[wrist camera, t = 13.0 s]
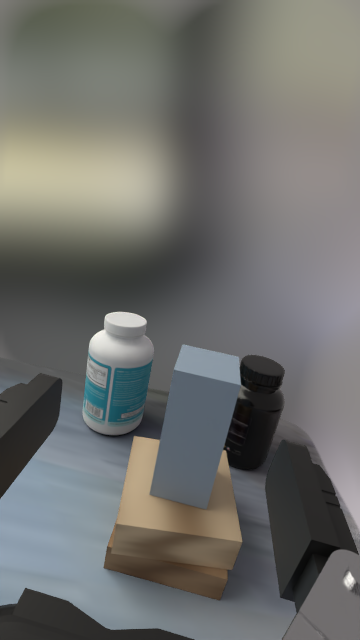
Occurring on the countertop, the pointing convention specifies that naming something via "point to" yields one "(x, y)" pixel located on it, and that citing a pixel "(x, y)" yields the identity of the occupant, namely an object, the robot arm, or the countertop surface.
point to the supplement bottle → (255, 412)
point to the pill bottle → (117, 374)
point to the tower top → (175, 517)
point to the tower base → (170, 573)
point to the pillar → (195, 425)
